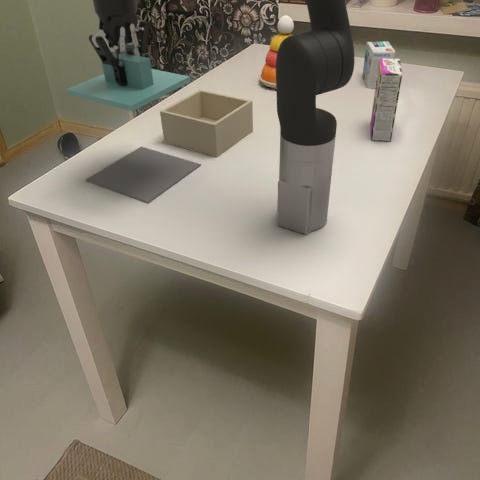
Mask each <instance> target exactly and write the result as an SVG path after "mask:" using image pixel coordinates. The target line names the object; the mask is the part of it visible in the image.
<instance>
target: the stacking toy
mask: <svg viewBox="0 0 480 480" xmlns="http://www.w3.org/2000/svg"><path fill="white" fill-rule="evenodd" d="M276 27H277V31H278V32H279V33H277V34H276V35H274V36H273V38H272V39H271V41H270V44H269V50H268V51H267V54H266V56H265V60H264V62H265V63H264V65H263V67H262V70H261V73H260V75H259V76H258V77H259V78H258V79H259V82H260V83H261V84H262V85H264V86H265V87H269V88H272V89H275V90H276V57H277V52H278V48H279V46H280V44H281V42H282V41H283V40H284V39H285V38H287V37H289V36H291V35H292V32H293V30H294V29H295V28H294V27H295V25H294V21H293V19H292V18H291V16H289V15H286V14H285V15H283V16H281V17H280V18H279V20H278V22H277V26H276Z"/></svg>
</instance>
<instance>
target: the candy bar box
mask: <svg viewBox="0 0 480 480" xmlns="http://www.w3.org/2000/svg"><path fill="white" fill-rule="evenodd" d="M402 78H403V70H402V64H401V59H400V58H394V59H392V58H387V59H386V58H380V59H379V65H378V72H377V79H376V87H375V88H374V89H375V90H374V96H373V102H372V109H371V117H370V118H371V119H370V136H371V137H370V138H371V141H373V142H388V143H389V142H392V137H393V130H394V125H395V121H396V113H397V107H398V102H399V97H400V89H401V84H402Z"/></svg>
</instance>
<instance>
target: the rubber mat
mask: <svg viewBox="0 0 480 480" xmlns="http://www.w3.org/2000/svg"><path fill="white" fill-rule="evenodd" d="M201 166H202V163H198V162H195V161H191V160H188V159H184V158H181V157H178V156H175V155H171V154H168V153H165V152H161V151H158V150H154V149H151V148H148V147H143V146H140V147H138V148H136V149H135V150H133V151H131V152H130V153H127V154H126V155H125V156H123V157H121V158H119V159H118V160H116V161H114V162H113V163H111V164H110V165H107V166H106V167H104V168H103V169H101V170H99V171H97V172H96V173H94V174H92V175H91V176H89V177H87V178H86V179H85V181H86V182H89V183H91V184H94V185H97V186H100V187H103V188H105V189H106V190H110V191H112V192H117V193H119V194H121V195H124V196H127V197H129V198H132V199H135V200H138V201H140V202H144V203H146V204H150V203H152V201H154V200H155V199H156V198H158V197H159V196H161V195H162V194H163V193H165V192H166V191H168V190H169V189H171V188H172V187H173V186H175V185H176V184H177V183H179V182H180V181H182V180H183V179H184V178H186V177H187V176H188V175H190V174H191V173H193V172H194V171H195V170H197V169H198V168H200V167H201Z"/></svg>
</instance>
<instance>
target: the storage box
mask: <svg viewBox="0 0 480 480" xmlns="http://www.w3.org/2000/svg"><path fill="white" fill-rule="evenodd" d="M253 105H254V104H253V100H251V99H246V98H241V97H236V96H231V95H227V94H222V93H218V92H212V91H208V90H203V89H199V90H197V91H195V92H193V93H191V94H189V95H187V96H185V97H184V98H182V99H180V100H178V101H176V102H174V103H173V104H170V105H168V106H167V107H165V108H163V109H161V110H160V111H159V116H160V123H161V129H162V135H163V142H164V143H166V144H169V145H173V146H176V147H179V148H183V149H188V150H191V151H195V152H198V153H200V154H205V155H208V156H211V157H215V158H218V157H220V156H221V155H222V154H223V153H226V152H227V151H228V150H229V149H231V148H232V147H234V146H235V145H236V144H237V143H239V142H240V141H242V140H243V139H244V138H246V137H247V136H248V135H250V134H251V133H253V131H254V121H253V120H254V119H253V118H254V116H253V111H254V110H253Z"/></svg>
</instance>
